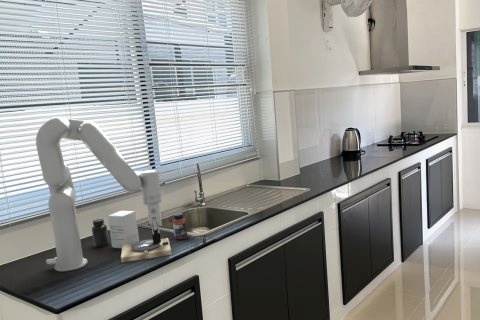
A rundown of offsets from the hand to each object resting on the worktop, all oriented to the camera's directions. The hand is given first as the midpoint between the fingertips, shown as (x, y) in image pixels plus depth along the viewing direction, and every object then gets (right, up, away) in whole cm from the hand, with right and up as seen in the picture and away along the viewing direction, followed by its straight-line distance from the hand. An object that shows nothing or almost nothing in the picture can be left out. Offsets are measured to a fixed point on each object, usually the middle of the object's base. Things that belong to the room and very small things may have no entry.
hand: (157, 241), depth 190 cm
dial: (-4, -2, 0) cm, 5 cm away
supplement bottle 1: (-28, -5, +16) cm, 33 cm away
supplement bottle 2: (+8, -2, +16) cm, 18 cm away
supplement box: (-16, -4, +13) cm, 21 cm away
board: (-4, -4, 0) cm, 6 cm away
